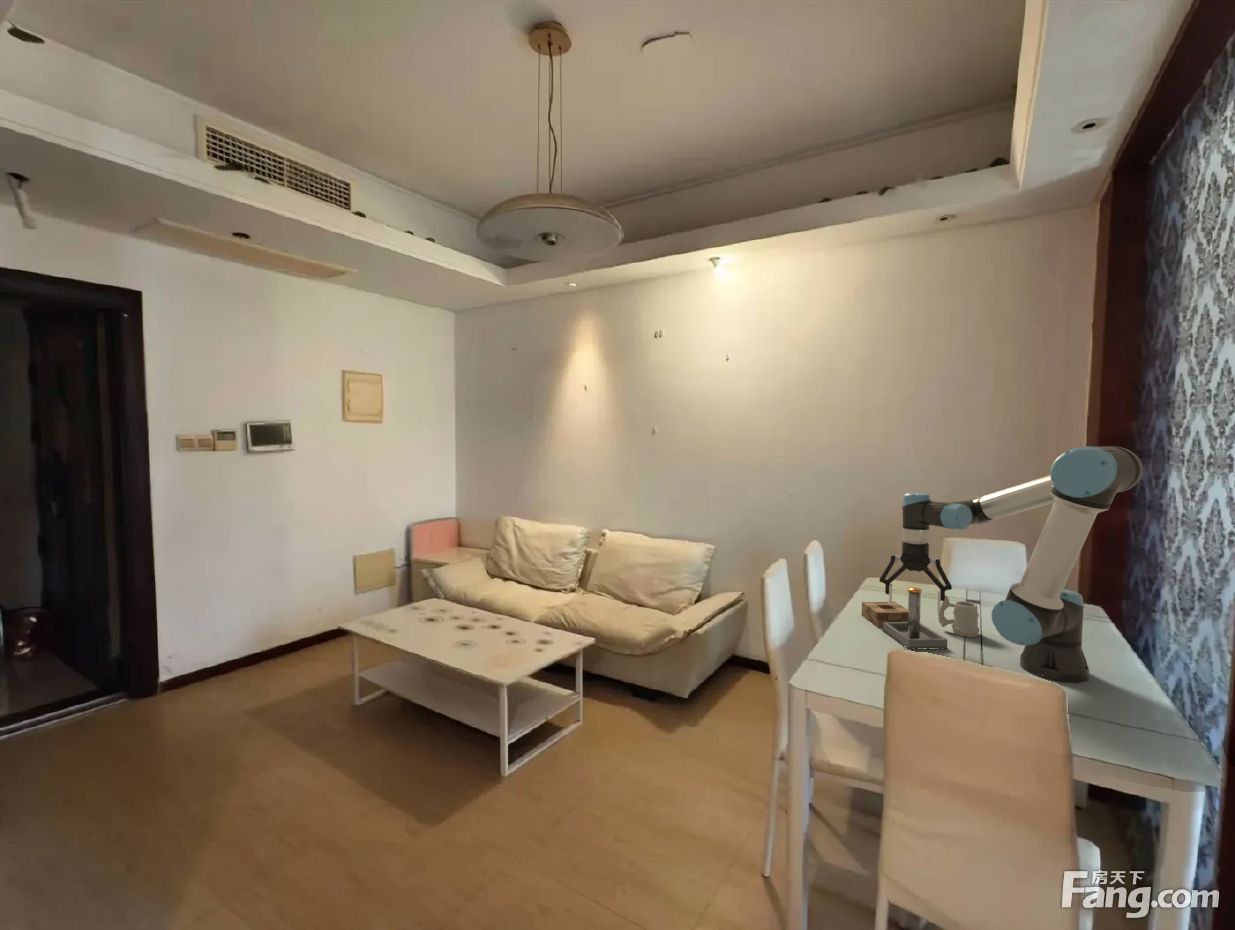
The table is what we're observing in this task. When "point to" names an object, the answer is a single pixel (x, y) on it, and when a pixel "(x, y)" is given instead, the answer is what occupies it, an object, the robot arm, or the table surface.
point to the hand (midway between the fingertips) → (914, 607)
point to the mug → (961, 617)
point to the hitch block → (884, 612)
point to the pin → (914, 612)
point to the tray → (926, 639)
